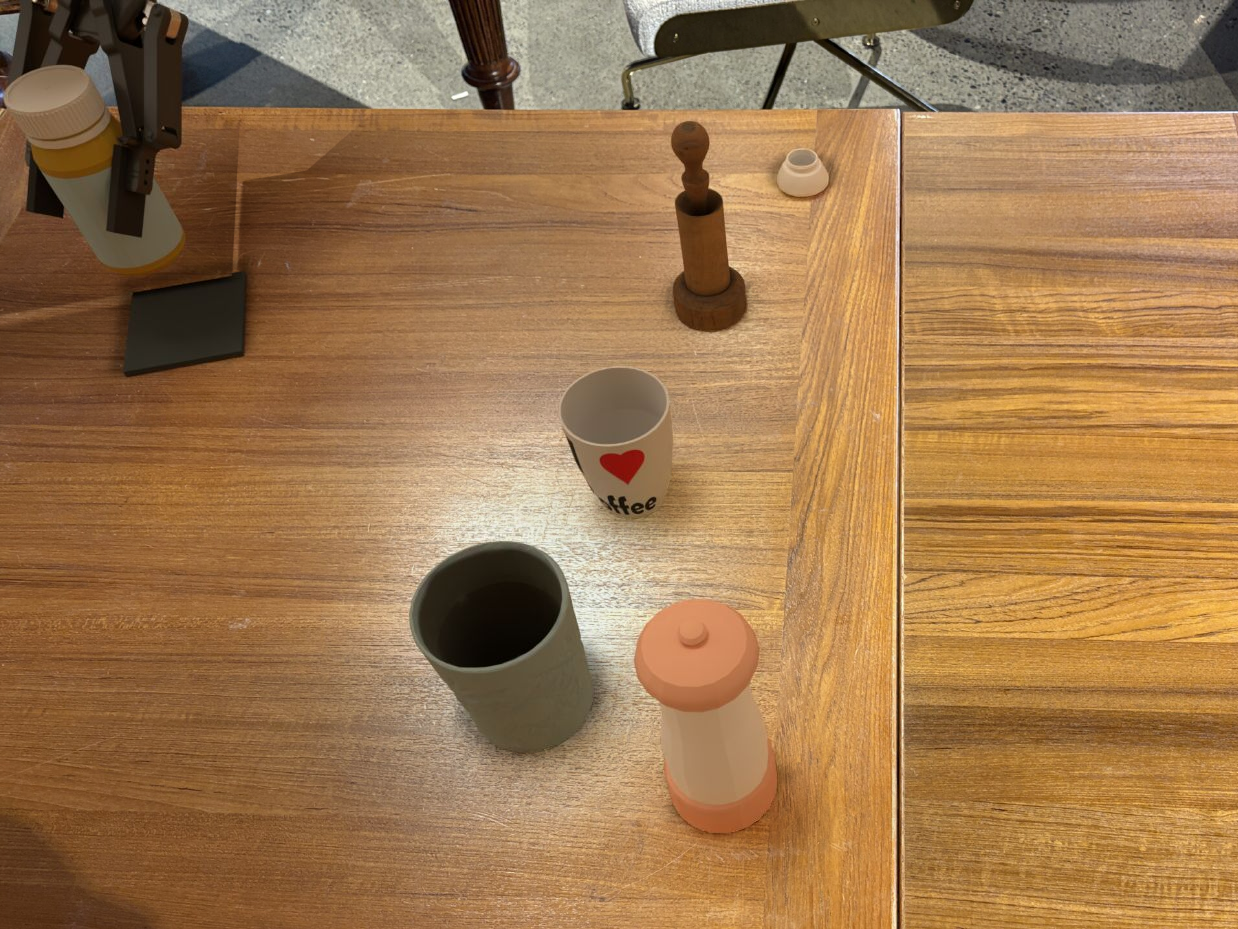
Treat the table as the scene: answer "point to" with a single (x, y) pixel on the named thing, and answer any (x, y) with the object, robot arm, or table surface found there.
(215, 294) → the mat
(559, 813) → the table surface
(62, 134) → the bottle
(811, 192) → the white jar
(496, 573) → the grey cylindrical pot
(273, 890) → the table surface
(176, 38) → the robot arm
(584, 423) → the cup
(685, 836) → the table surface
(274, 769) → the table surface
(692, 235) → the mortar and pestle
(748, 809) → the pepper shaker
